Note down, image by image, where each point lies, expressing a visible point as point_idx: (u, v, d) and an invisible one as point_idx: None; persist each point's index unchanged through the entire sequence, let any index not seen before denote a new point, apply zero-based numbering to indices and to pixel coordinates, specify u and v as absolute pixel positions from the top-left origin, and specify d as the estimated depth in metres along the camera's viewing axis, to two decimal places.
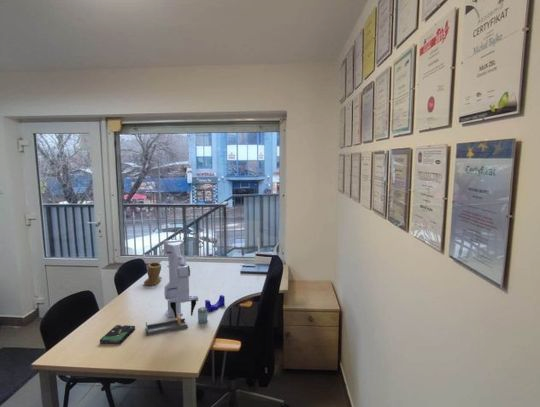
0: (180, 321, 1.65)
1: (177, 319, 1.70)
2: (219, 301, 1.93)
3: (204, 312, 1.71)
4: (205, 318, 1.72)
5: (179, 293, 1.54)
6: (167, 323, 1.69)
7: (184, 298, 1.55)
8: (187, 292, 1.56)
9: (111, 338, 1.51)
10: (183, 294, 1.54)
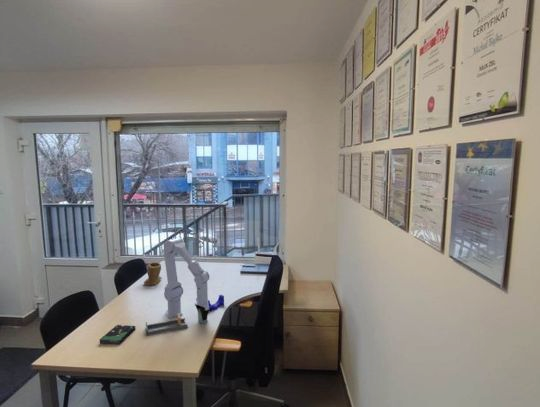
0: (180, 321, 1.65)
1: (177, 319, 1.70)
2: (218, 301, 1.94)
3: None
4: None
5: None
6: (167, 323, 1.69)
7: (197, 301, 1.70)
8: (200, 297, 1.69)
9: (111, 338, 1.51)
10: (197, 297, 1.70)
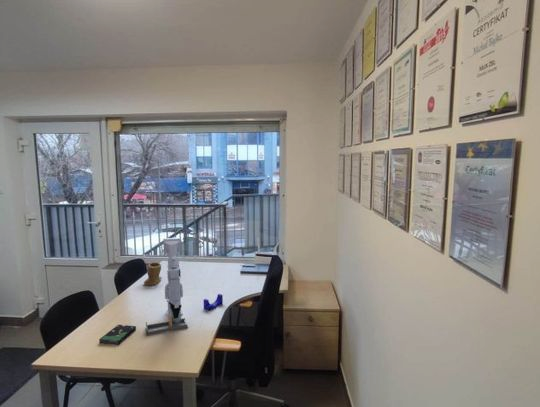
0: (171, 323, 1.64)
1: None
2: (217, 300, 1.95)
3: None
4: (178, 317, 1.65)
5: None
6: (167, 323, 1.69)
7: (169, 298, 1.64)
8: (171, 294, 1.63)
9: (110, 338, 1.52)
10: (169, 294, 1.65)
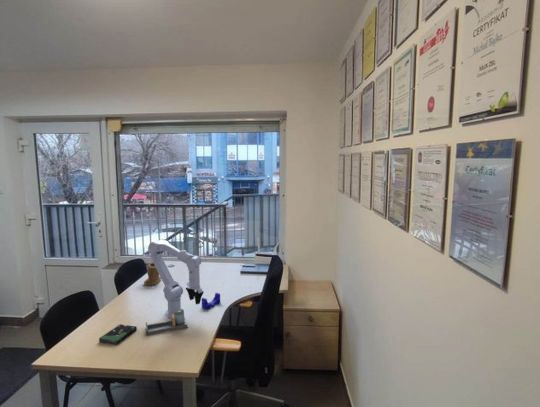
0: (174, 322, 1.64)
1: (172, 320, 1.69)
2: (215, 299, 1.97)
3: (180, 314, 1.66)
4: (181, 320, 1.66)
5: None
6: (167, 323, 1.69)
7: (190, 285, 1.74)
8: (192, 281, 1.73)
9: (109, 338, 1.52)
10: (189, 281, 1.74)
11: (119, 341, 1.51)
